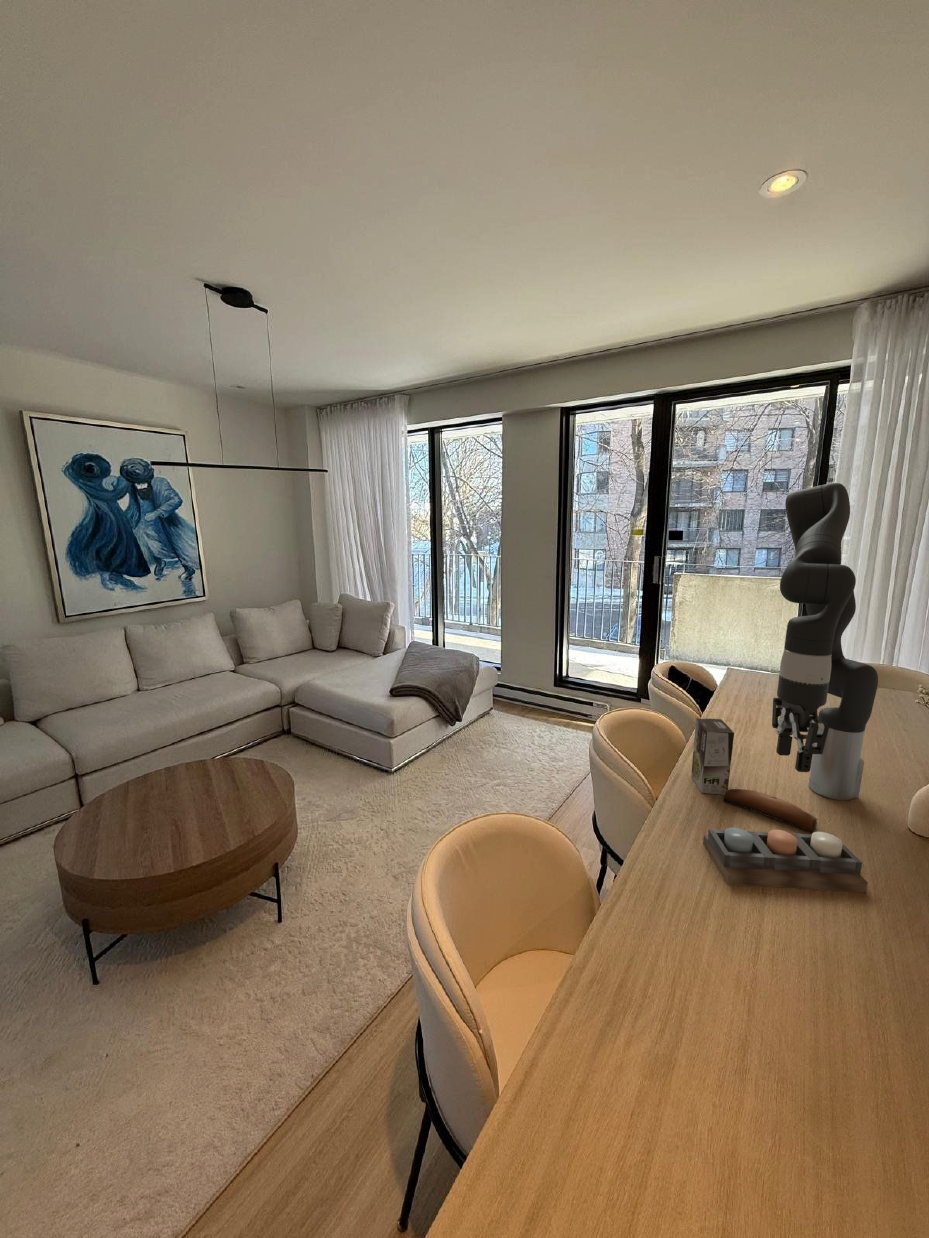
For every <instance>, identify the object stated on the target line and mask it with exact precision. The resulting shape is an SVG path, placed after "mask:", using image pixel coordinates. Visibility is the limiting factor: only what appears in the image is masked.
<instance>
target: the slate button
mask: <svg viewBox="0 0 929 1238" xmlns="http://www.w3.org/2000/svg"><path fill="white" fill-rule="evenodd" d="M724 830H725V836H724V846H725V848H726V849H727V851H728V852H738V853H752V845H753V836H752V835H751V834H750V833H749V832H747V830H745V829H742V828H738V827H728V828H726V829H724Z"/></svg>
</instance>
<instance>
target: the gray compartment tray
mask: <svg viewBox="0 0 929 1238" xmlns="http://www.w3.org/2000/svg"><path fill="white" fill-rule="evenodd" d="M725 830H726V829H708V832H707V833H708V834H703V837H702V843H703V846H704V847H705V849H706V851H707V853H708V854H709V856H710V858H711V859H712V861H713V863H714V865H715V866H716V868H717V869H718V871H719V873H720V874H721V876H722V878H723V879H724V881H725V884H726V885H738V886H739V885H740V886H741V885H742V886H754V887H769V888H771V887H772V888H773V887H775V888H786V889H787V888H791V889H804V890H805V889H806V890H807V889H808V890H820V891H821V890H825V891H837V892H838V891H840V892H842V891H843V892H857V893H867V890H868V889H867V888H868V884H869V883H868V881H867V880H866V879H865V878H864V877H863V876H862V875H861V872H862V865H863V862H862V861H861V860H860V859H859V858H858V857H857V855H855V854H854V852H852V851H851V850H850V849H849V848H848V847H847V846H846V845H845V844H844V843H843V845H842V851H841V857H840V858H831V857H818V856H817V855H816V854H815V853H814V851H813V850H812V849H811V848H810V843H811V836H812V833H811V834H809V833H790V832H789V833H790V834H792V835H793V836H794V837H796V839H797V841H798V842H797V849H796V856H794V855H775V854H772V852H771V851H770V850H769V849H768V847H767V838H768V832H769V831H768V832H766V831H750V830H749V831H747V830H746V831H747V832H749V833H750V834H751V835H752V836H753V845H752V853H738V852H728V851H727V849H726V848H725V846H724V836H725ZM834 836H835V837H837V836H836V835H834Z"/></svg>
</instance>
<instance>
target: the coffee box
mask: <svg viewBox="0 0 929 1238" xmlns="http://www.w3.org/2000/svg"><path fill="white" fill-rule="evenodd" d="M694 726H695V727H694V737H693V752H692V764H691V773H690V775H691V778H692V780H693V781H694V783H695V784H696V786H697V788H698V789H699V791H700V792H701V793H702V794H710V795H711V794H714V795H722V796H723V795H724V796H725V793H726V792H727V790H729V783H730V774H731V766H732V755H733V750H734V749H733V747H734V738H735V732H734V731H733V730H732V729H731V728H730V727H729V725H728V724H727V723H725V721H723V720H722V719H721V718H698V717H697V718H695V725H694Z"/></svg>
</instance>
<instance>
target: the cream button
mask: <svg viewBox="0 0 929 1238" xmlns="http://www.w3.org/2000/svg"><path fill="white" fill-rule="evenodd" d="M811 835H812V836H811V843H810V848H811V849H812V850H813V851H814V853H815V854H816V855H817V856H818V857H831V858H840V857H841V851H842V845H843V844H844V843H843V842H842V840H841V839H840V838H838V836H836V835H833V834H830V833H829V832H824V831H813V833H811ZM835 836H836V837H835Z"/></svg>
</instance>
